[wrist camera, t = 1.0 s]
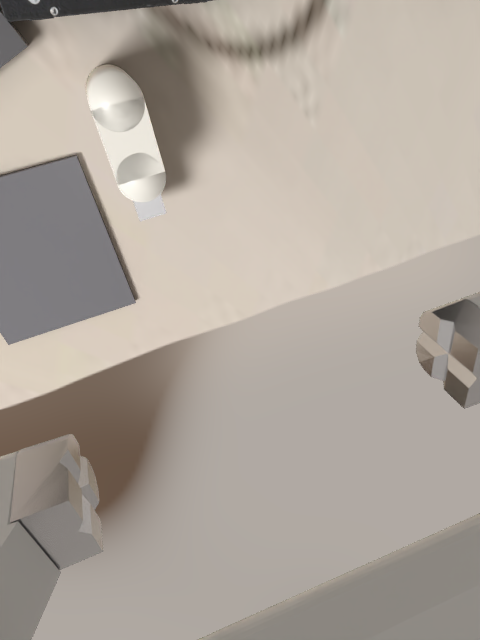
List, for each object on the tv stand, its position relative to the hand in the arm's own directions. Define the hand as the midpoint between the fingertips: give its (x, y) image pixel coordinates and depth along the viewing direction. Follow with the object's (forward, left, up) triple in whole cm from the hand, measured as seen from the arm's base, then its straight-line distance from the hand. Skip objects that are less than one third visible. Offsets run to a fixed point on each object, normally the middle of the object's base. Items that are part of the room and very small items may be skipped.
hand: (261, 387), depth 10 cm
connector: (0, +2, -31) cm, 31 cm away
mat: (+10, +8, -31) cm, 33 cm away
